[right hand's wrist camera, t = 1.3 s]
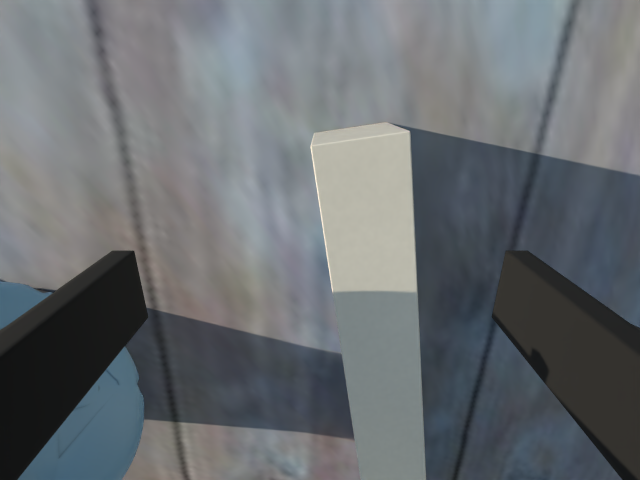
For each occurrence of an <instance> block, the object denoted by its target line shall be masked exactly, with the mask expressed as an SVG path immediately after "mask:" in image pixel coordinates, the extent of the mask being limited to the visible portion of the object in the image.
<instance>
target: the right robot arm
mask: <svg viewBox="0 0 640 480" xmlns="http://www.w3.org/2000/svg"><path fill="white" fill-rule="evenodd" d="M147 318H148V314H147V309H146V305H145V300H144V295H143V290H142V286H141V281H140V276H139V271H138V267H137V262H136V257H135V253H134V251H111V252H110V253H109V254H107V255H106V256H104V257H103V258H102V259H100V260H99V261H97V262H96V263H94V264H93V265H92V266H90V267H89V268H87V269H86V270H85V271H83V272H82V273H80V274H79V275H78V276H76V277H75V278H73V279H72V280H70V281H69V282H68V283H66V284H65V285H63V286H62V287H61V288H59V289H58V290H56V291H55V292H54V293H52V294H51V295H49V296H48V297H47V298H45V299H44V300H42V301H41V302H39V303H38V304H37V305H35V306H34V307H32V308H31V309H30V310H28V311H27V312H25V313H24V314H23V315H21V316H20V317H18V318H17V319H16V320H14V321H13V322H11V323H10V324H8V325H7V326H6V327H4V328H3V329H0V480H18V478H19V477H20V476H21V475H22V473H23V472H24V471H25V470H26V468H27V467H28V466H29V465H30V463H31V462H32V461H33V460H34V458H35V457H36V456H37V455H38V454H39V452H40V451H41V450H42V449H43V447H44V446H45V445H46V444H47V442H48V441H49V440H50V439H51V437H52V436H53V435H54V434H55V432H56V431H57V430H58V429H59V427H60V426H61V425H62V424H63V422H64V421H65V420H66V419H67V417H68V416H69V415H70V414H71V412H72V411H73V410H74V409H75V408H76V406H77V405H78V404H79V403H80V401H81V400H82V399H83V398H84V396H85V395H86V394H87V393H88V391H89V390H90V389H91V388H92V386H93V385H94V384H95V383H96V381H97V380H98V379H99V378H100V376H101V375H102V374H103V373H104V371H105V370H106V369H107V368H108V366H109V365H110V364H111V363H112V362H113V360H114V359H115V358H116V357H117V355H118V354H119V353H120V352H121V350H122V349H123V348H124V347H125V345H126V344H127V343H128V342H129V340H130V339H131V338H132V337H133V335H134V334H135V333H136V332H137V330H138V329H139V328H140V327H141V325H142V324H143V323H144V322H145V320H146V319H147ZM492 318H493V319H494V320H495V322H496V323H497V324H498V325H499V327H500V328H501V329H502V330H503V332H504V333H505V334H506V335H507V337H508V338H509V339H510V340H511V342H512V343H513V344H514V345H515V347H516V348H517V349H518V350H519V352H520V353H521V354H522V355H523V357H524V358H525V359H526V360H527V362H528V363H529V364H530V365H531V366H532V368H533V369H534V370H535V371H536V373H537V374H538V375H539V376H540V378H541V379H542V380H543V381H544V383H545V384H546V385H547V386H548V388H549V389H550V390H551V391H552V393H553V394H554V395H555V396H556V398H557V399H558V400H559V401H560V403H561V404H562V405H563V406H564V408H565V409H566V410H567V411H568V412H569V414H570V415H571V416H572V417H573V419H574V420H575V421H576V422H577V424H578V425H579V426H580V427H581V429H582V430H583V431H584V432H585V434H586V435H587V436H588V437H589V439H590V440H591V441H592V442H593V444H594V445H595V446H596V447H597V449H598V450H599V451H600V452H601V454H602V455H603V456H604V457H605V458H606V460H607V461H608V462H609V463H610V465H611V466H612V467H613V468H614V470H615V471H616V472H617V473H618V475H619V476H620V477H621V478H622V480H640V328H639V327H636V326H634V325H632V324H630V323H629V322H627V321H626V320H624V319H623V318H622V317H620V316H619V315H617V314H616V313H615V312H613V311H612V310H610V309H609V308H608V307H606V306H605V305H603V304H602V303H601V302H599V301H598V300H596V299H595V298H593V297H592V296H591V295H589V294H588V293H586V292H585V291H584V290H582V289H581V288H579V287H578V286H577V285H575V284H574V283H572V282H571V281H570V280H568V279H567V278H565V277H564V276H562V275H561V274H560V273H558V272H557V271H555V270H554V269H553V268H551V267H550V266H548V265H547V264H546V263H544V262H543V261H541V260H540V259H538V258H537V257H536V256H534V255H533V254H531V253H530V252H529V251H506V253H505V257H504V262H503V267H502V271H501V276H500V281H499V286H498V290H497V295H496V300H495V305H494V309H493V314H492Z"/></svg>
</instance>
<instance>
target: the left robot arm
mask: <svg viewBox="0 0 640 480" xmlns="http://www.w3.org/2000/svg"><path fill="white" fill-rule="evenodd" d="M52 293H53V292H47V291H43V290H38V289H34V288H32V287H30V286H28V285H24V284H20V283H11V282H1V281H0V329H3V328H4V327H6V326H7V325H8V324H10V323H11V322H13V321H14V320H16V319H17V318H18V317H20V316H21V315H23V314H24V313H25V312H27V311H28V310H30V309H31V308H32V307H34V306H35V305H37V304H38V303H39V302H41V301H42V300H44V299H45V298H47V297H48V296H49V295H51V294H52ZM138 380H139V375H138V372H137V369H136V366H135V364H134V361H133V359H132V358H131V356H130V354H129V352H128V351H127V349H126V347H124V348H123V349H122V350H121V352H120V353H119V354H118V355H117V357H116V358H115V359H114V360H113V362H112V363H111V364H110V365H109V366H108V368H107V369H106V370H105V371H104V373H103V374H102V375H101V376H100V378H99V379H98V380H97V381H96V383H95V384H94V385H93V386H92V388H91V389H90V390H89V391H88V393H87V394H86V395H85V396H84V398H83V399H82V400H81V401H80V403H79V404H78V405H77V406H76V408H75V409H74V410H73V411H72V412H71V414H70V415H69V416H68V417H67V419H66V420H65V421H64V422H63V424H62V425H61V426H60V427H59V429H58V430H57V431H56V432H55V434H54V435H53V436H52V437H51V439H50V440H49V441H48V442H47V444H46V445H45V446H44V447H43V449H42V450H41V451H40V452H39V454H38V455H37V456H36V457H35V458H34V460H33V461H32V462H31V463H30V465H29V466H28V467H27V468H26V470H25V471H24V472H23V473H22V475H21V476H20V477H19V478H18V480H122V478H123V477H124V475H125V474H126V472H127V470H128V468H129V467H130V465H131V463H132V461H133V458H134V456H135V454H136V451H137V448H138V445H139V442H140V439H141V434H142V429H143V422H144V398H143V395H142V393H141V392H140V390H139V387H138V385H137V383H138Z"/></svg>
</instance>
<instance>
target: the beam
mask: <svg viewBox="0 0 640 480" xmlns="http://www.w3.org/2000/svg"><path fill="white" fill-rule="evenodd" d="M311 152H312V159H313V166H314V172H315V179H316V186H317V192H318V199H319V206H320V212H321V219H322V226H323V232H324V239H325V246H326V252H327V259H328V266H329V272H330V279H331V286H332V292H333V299H334V306H335V312H336V319H337V326H338V332H339V339H340V346H341V352H342V359H343V366H344V372H345V379H346V386H347V392H348V399H349V406H350V412H351V419H352V426H353V432H354V439H355V446H356V452H357V459H358V466H359V472H360V479H361V480H426V466H425V444H424V422H423V400H422V377H421V355H420V333H419V310H418V288H417V266H416V244H415V221H414V199H413V177H412V154H411V132H410V131H408V130H406V129H403V128H400V127H398V126H395V125H392V124H390V123H387V122H385V123H378V124H371V125H365V126H358V127H351V128H345V129H338V130H331V131H325V132H318V133H314V136H313V140H312V144H311Z"/></svg>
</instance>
